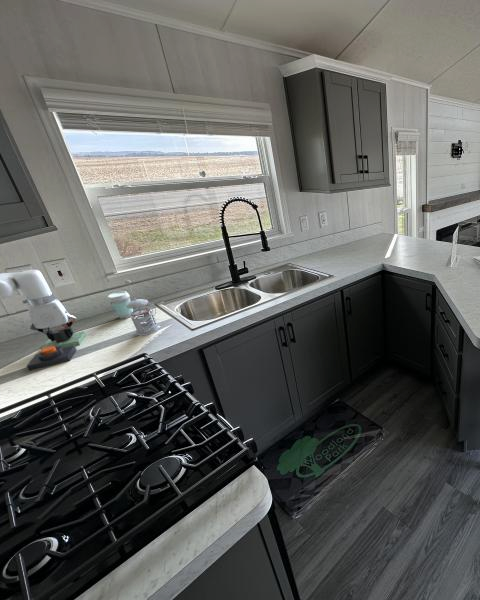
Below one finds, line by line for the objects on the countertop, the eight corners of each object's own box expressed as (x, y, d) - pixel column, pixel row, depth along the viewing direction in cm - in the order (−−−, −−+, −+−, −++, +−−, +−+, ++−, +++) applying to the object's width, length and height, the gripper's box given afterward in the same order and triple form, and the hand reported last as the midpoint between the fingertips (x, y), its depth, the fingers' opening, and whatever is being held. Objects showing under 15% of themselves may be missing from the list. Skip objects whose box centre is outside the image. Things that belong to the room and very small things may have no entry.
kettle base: (29, 370, 125) (23, 362, 123) (38, 358, 132) (33, 350, 130) (70, 360, 130) (65, 352, 128) (76, 350, 137) (72, 341, 135)
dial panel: (42, 353, 136) (40, 349, 135) (51, 342, 143) (49, 338, 143) (80, 345, 141) (77, 340, 140) (86, 334, 149) (84, 330, 148)
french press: (129, 335, 147) (106, 283, 136) (151, 322, 157) (131, 274, 147) (147, 336, 145) (126, 284, 135) (168, 323, 156) (150, 274, 145)
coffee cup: (140, 313, 166) (131, 292, 161) (122, 321, 159) (112, 299, 154) (131, 310, 170) (122, 289, 165) (112, 318, 163) (102, 296, 158)
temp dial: (54, 343, 138) (48, 334, 136) (57, 338, 142) (52, 329, 140) (69, 340, 140) (63, 330, 138) (72, 335, 144) (67, 326, 142)
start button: (41, 356, 127) (38, 352, 126) (45, 351, 130) (42, 347, 129) (54, 353, 129) (52, 349, 128) (58, 348, 132) (56, 344, 131)
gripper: (8, 308, 126) (32, 348, 134) (66, 298, 134) (85, 336, 142) (16, 301, 132) (39, 339, 140) (71, 292, 140) (90, 328, 148)
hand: (62, 337), depth 141 cm, fingers closed on temp dial, 4 cm apart
